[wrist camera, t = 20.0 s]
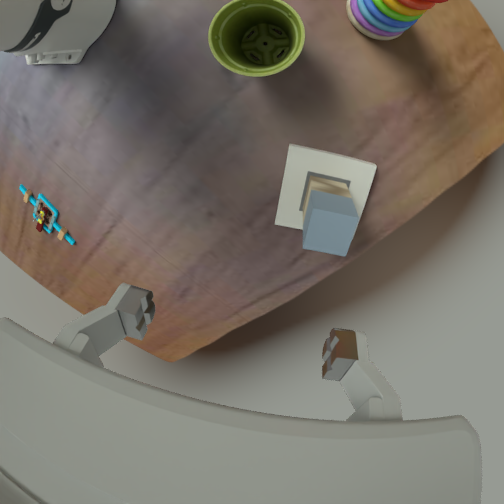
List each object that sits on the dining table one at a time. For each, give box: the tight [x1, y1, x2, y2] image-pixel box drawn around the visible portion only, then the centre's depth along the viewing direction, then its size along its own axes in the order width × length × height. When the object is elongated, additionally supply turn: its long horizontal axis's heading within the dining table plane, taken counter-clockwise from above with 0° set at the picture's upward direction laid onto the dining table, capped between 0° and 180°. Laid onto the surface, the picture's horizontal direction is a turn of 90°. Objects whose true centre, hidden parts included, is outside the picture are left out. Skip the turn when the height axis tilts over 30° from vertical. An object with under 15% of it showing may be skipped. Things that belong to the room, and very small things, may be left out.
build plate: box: [275, 143, 377, 240], centre depth 37 cm, size 12×12×1 cm
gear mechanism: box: [19, 184, 75, 245], centre depth 47 cm, size 20×5×9 cm
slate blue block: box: [303, 190, 359, 257], centre depth 31 cm, size 5×5×5 cm
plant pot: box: [208, 0, 305, 77], centre depth 24 cm, size 9×9×9 cm
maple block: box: [303, 175, 352, 223], centre depth 35 cm, size 5×5×5 cm
